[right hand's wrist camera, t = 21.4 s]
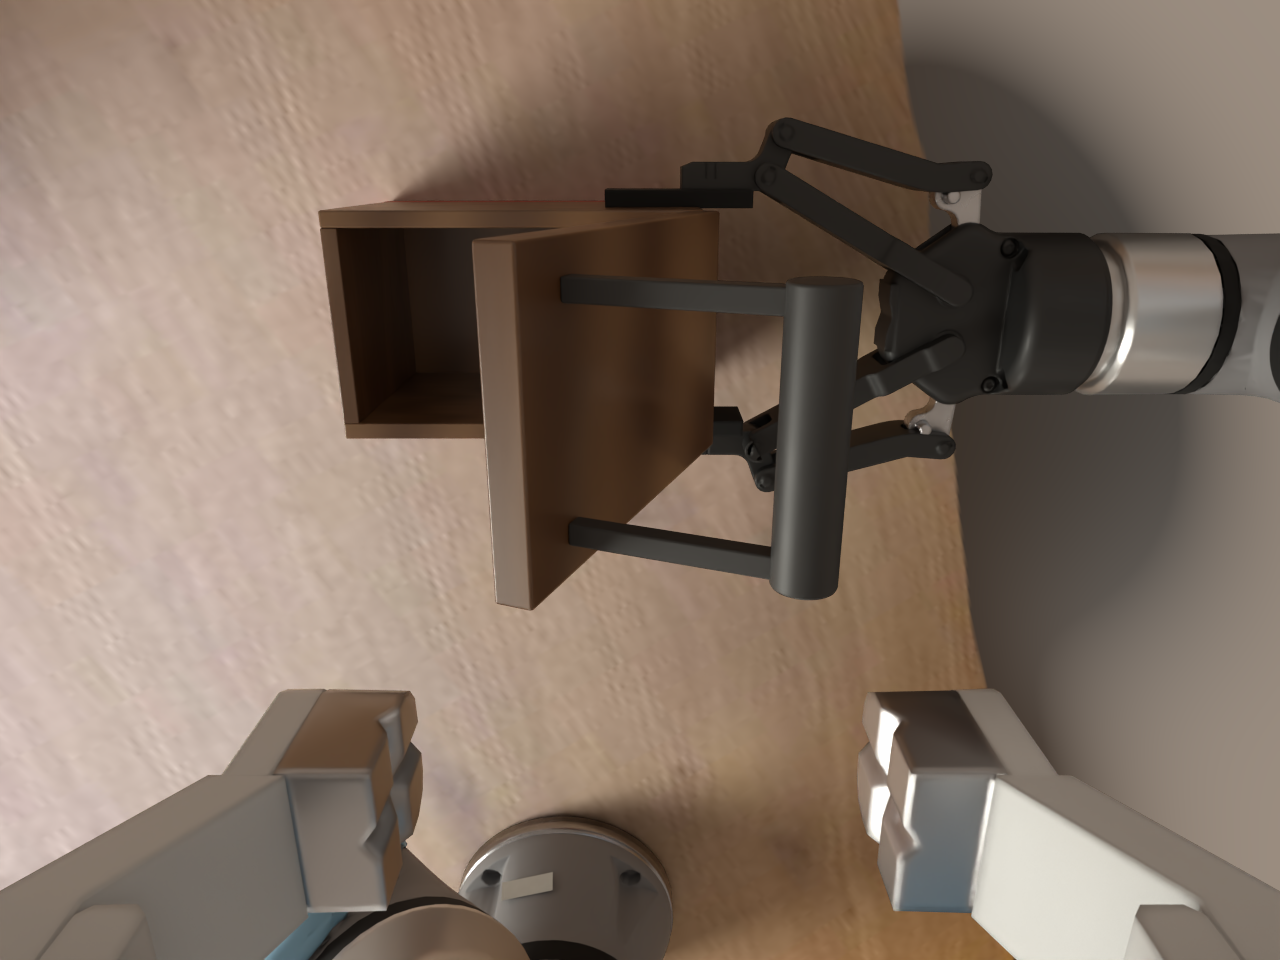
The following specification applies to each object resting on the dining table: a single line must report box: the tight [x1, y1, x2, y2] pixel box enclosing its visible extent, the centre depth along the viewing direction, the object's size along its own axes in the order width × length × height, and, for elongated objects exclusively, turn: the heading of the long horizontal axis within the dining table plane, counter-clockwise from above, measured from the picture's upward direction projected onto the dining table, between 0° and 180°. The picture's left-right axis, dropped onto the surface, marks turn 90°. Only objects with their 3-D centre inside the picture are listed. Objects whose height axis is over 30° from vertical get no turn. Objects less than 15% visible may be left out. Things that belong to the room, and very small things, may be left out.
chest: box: [318, 201, 704, 438], centre depth 42 cm, size 16×10×11 cm, turn 90°
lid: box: [472, 211, 864, 610], centre depth 28 cm, size 16×10×9 cm
